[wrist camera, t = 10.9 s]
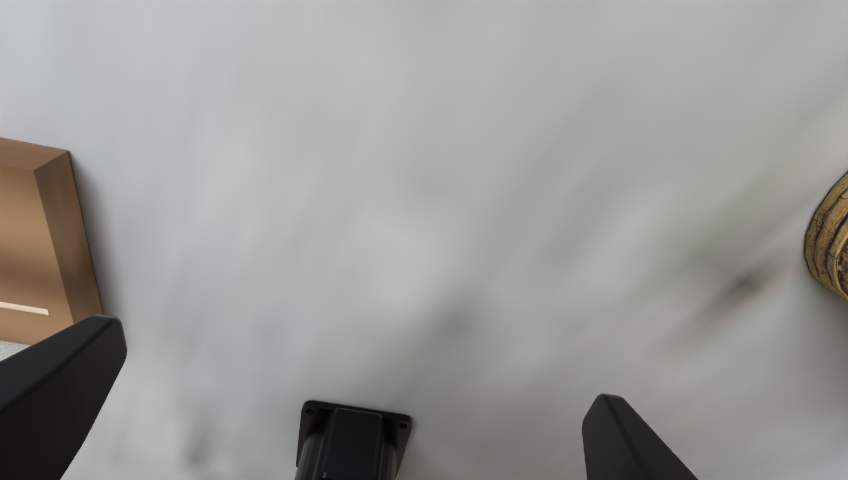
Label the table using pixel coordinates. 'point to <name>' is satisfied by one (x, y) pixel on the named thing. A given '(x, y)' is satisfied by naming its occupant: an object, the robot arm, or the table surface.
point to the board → (41, 245)
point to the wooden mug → (830, 241)
